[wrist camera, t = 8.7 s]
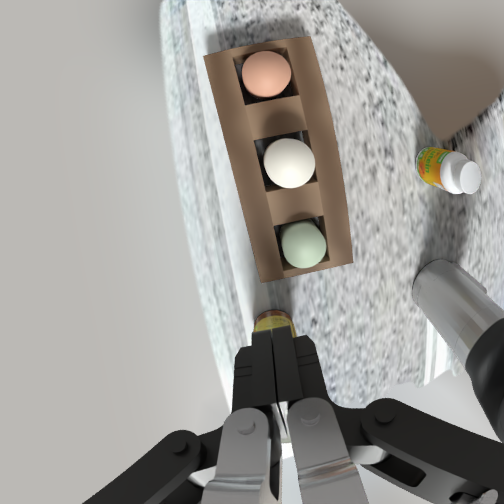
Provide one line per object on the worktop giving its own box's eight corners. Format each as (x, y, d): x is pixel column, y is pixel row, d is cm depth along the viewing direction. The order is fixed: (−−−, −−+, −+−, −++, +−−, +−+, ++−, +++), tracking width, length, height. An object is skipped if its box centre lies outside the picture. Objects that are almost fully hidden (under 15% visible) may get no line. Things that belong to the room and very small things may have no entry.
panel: (304, 45, 28) (310, 36, 24) (344, 250, 39) (353, 262, 35) (208, 64, 29) (203, 56, 25) (260, 268, 40) (261, 283, 36)
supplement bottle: (421, 140, 32) (464, 146, 23) (446, 156, 33) (489, 167, 24) (409, 174, 34) (450, 189, 25) (435, 188, 35) (476, 206, 26)
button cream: (301, 134, 31) (309, 134, 26) (309, 176, 32) (319, 182, 28) (258, 143, 31) (260, 144, 27) (268, 184, 33) (271, 192, 28)
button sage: (314, 212, 36) (323, 223, 31) (319, 247, 38) (328, 263, 33) (276, 220, 36) (279, 233, 32) (283, 255, 38) (287, 272, 34)
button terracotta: (280, 58, 28) (284, 47, 24) (289, 95, 30) (296, 89, 26) (239, 66, 29) (237, 56, 24) (248, 103, 30) (248, 98, 26)
